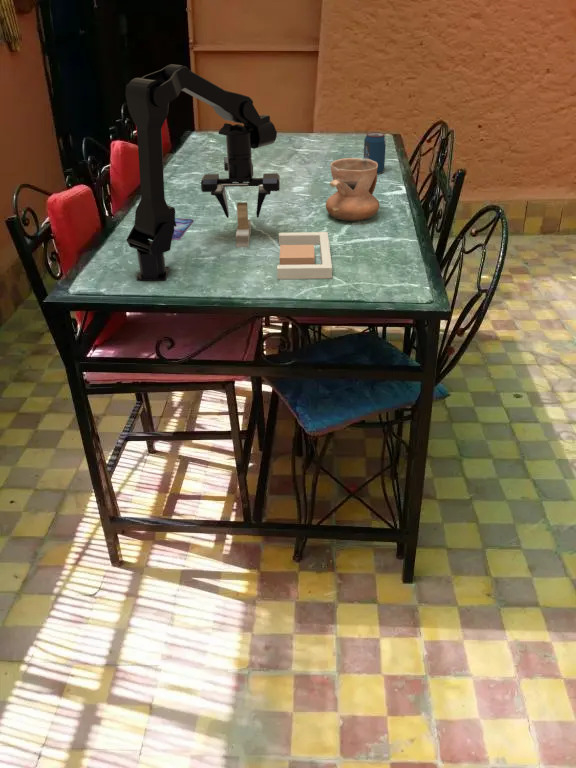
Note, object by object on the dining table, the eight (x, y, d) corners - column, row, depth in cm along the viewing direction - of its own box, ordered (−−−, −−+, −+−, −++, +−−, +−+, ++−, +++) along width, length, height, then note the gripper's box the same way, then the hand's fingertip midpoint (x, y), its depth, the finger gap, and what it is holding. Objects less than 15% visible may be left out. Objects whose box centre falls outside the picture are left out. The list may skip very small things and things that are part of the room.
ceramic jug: (350, 230, 165) (353, 175, 157) (311, 217, 173) (311, 164, 166) (394, 214, 175) (399, 161, 167) (355, 202, 184) (357, 152, 176)
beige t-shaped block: (248, 247, 156) (246, 211, 151) (236, 247, 156) (234, 212, 151) (251, 230, 166) (249, 196, 161) (239, 230, 166) (237, 196, 161)
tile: (314, 267, 146) (314, 257, 145) (279, 268, 146) (279, 258, 145) (313, 254, 153) (313, 244, 151) (280, 254, 153) (280, 245, 152)
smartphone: (194, 219, 173) (179, 239, 160) (194, 222, 173) (179, 242, 161) (168, 217, 174) (150, 237, 161) (168, 220, 174) (151, 240, 162)
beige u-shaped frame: (327, 241, 158) (327, 232, 157) (331, 278, 140) (332, 267, 139) (279, 242, 158) (279, 232, 157) (277, 279, 140) (277, 268, 139)
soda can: (386, 170, 211) (389, 132, 204) (380, 175, 206) (382, 137, 199) (366, 168, 213) (368, 130, 207) (360, 173, 208) (361, 135, 202)
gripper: (279, 143, 156) (280, 206, 165) (203, 144, 156) (208, 207, 165) (278, 155, 147) (280, 221, 155) (198, 156, 147) (204, 222, 156)
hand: (242, 217), depth 158 cm, fingers open, 7 cm apart
